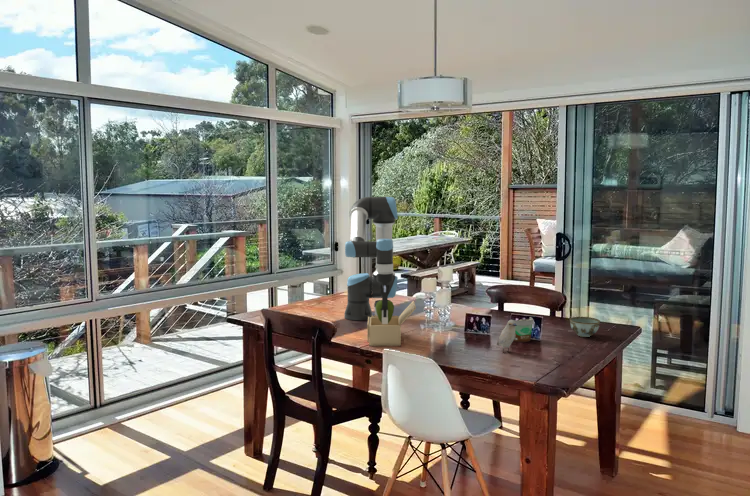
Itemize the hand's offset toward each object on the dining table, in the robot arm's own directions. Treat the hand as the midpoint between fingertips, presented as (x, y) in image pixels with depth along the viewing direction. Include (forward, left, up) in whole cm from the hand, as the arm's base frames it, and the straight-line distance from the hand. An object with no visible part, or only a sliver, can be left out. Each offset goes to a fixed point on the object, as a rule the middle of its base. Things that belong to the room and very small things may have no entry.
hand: (384, 321), depth 285 cm
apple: (0, 0, -1) cm, 1 cm away
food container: (0, +64, -9) cm, 65 cm away
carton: (0, 0, -9) cm, 9 cm away
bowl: (-8, +94, -9) cm, 95 cm away
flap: (0, +7, +1) cm, 7 cm away
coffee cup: (-17, -1, -9) cm, 19 cm away
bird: (+20, +52, -9) cm, 56 cm away
